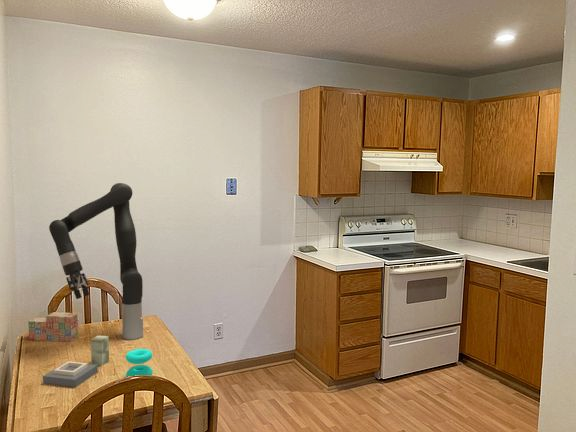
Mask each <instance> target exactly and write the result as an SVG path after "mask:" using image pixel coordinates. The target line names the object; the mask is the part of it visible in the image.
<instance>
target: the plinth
mask: <svg viewBox="0 0 576 432" xmlns="http://www.w3.org/2000/svg"><path fill="white" fill-rule="evenodd" d="M97 373H99V369H98V365H93V364H92V363H88V362H87V363H86V362H80V361H79V362H77V361H66V362H64V363H62V364H61V365H59V366H57V367H55V368H53V369H52V370H50V371H49V372H46V374H44V375H42V384H43V385H44V384H45V385H51V386H52V385H53V386H61V387H69V388H77V387H78V386H81V384H82V383H84V382H86V381H87V380H89V379H90V378H91V377H93V376H94V375H95V374H97Z"/></svg>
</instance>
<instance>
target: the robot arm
mask: <svg viewBox="0 0 576 432" xmlns="http://www.w3.org/2000/svg"><path fill="white" fill-rule="evenodd" d="M132 197H133V190H132V187H131V186H130V185H128V184H127V183H123V182H117V183H115V184H113V185H112V186H111V188H110V190H109V192H108V193H106V194H104V195H103V196H101V197H99V198H97V199H95V200H92V201H90V202H89V203H86V204H84V205H81V206H80V207H77V208H76V209H75V210H72V211H71V212H70V213H68V215H67V216H65V217H63V218H62V219H55V220H53V221H52V222H50V224H49V226H48V229H49V233H50V236H51V237H52V240H53V242H54V244H55V248H56V251H57V254H58V257H59V261H60V264H61V267H62V269H63V272H64V275H65V276H66V279H65V280H66V281H67V285H68V288H69V291H72V292H73V293H74V296H75V298H76V299H75V300H79V299H81V298H82V294H83V296H84V297H88V296H90V293H89V289H88V286H89V285H90V284H89V282H88V279H87V276H86V274H85V273H84V272H82V273H81V271H83V270H84V268H83V266H82V263H81V260H80V257H79V255H78V253H77V250H76V248H75V245H74V243H73V241H72V238H71V237H70V232H73V230H75V229H76V228H78V227H79V226H81V225H83V224H85V223H87V222H88V221H90V220H92V219H94V218H95V217H97V216H99V215H100V214H102V213H103V212H105V211H107V210H109V209H111V208H113V214H114V218H113V219H114V232H115V233H114V235H115V242H116V248H117V253H118V258H119V269H120V270H119V271H120V272H119V274H120V275H119V278H120V279H119V280H120V283H121V285H122V297H121V324H122V326H121V328H122V329H121V330H122V334H121V335H122V339H124V340H136V339H140V338H144V318H143V310H142V309H143V308H142V307H143V305H142V304H143V303H142V301H143V300H142V298H143V295H144V294H143V289H144V286H143V283H144V282H143V276H142V275H141V273H140V272H139V271H138V267H137V261H136V252H137V233H136V228H135V227H136V226H135V223H134V221H133V220H134V219H133V217H132V214H131V210H130V201H131V199H132ZM79 287H80V288H81V290H82V294H81V291H80V288H79Z"/></svg>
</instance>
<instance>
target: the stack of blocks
mask: <svg viewBox="0 0 576 432" xmlns="http://www.w3.org/2000/svg"><path fill="white" fill-rule="evenodd" d="M78 321H79V320H78V313H74V312H56V311H55V312H51V313H49V314H47V315H46V317H35V318H32V319H31V320H28V322H27V323H28V336H29V339H28V340H31V341H32V340H33V341H45V342H47V341H48V342H49V341H51V342H65V343H71V342H73V341H75V340H76V339H77V338H79V333H78V328H79V327H78V323H79V322H78Z"/></svg>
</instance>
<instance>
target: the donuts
mask: <svg viewBox="0 0 576 432" xmlns="http://www.w3.org/2000/svg"><path fill="white" fill-rule="evenodd" d="M152 358H153V352H152V351H151V350H149V349H147V348H136V349H133V350H130V351H128V352H127V353H126V355H125V360H126V361H127V362H128V363H129V364H133V365H134V366H132V367H130V368H128V370H127V371H126V378H127V377H128V376H135V375H151V376H152V375H153V373H154V371H153V369H152V368H151V366H149V365H145V364H144V363H147V362H149V361H150V360H151V359H152Z"/></svg>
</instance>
